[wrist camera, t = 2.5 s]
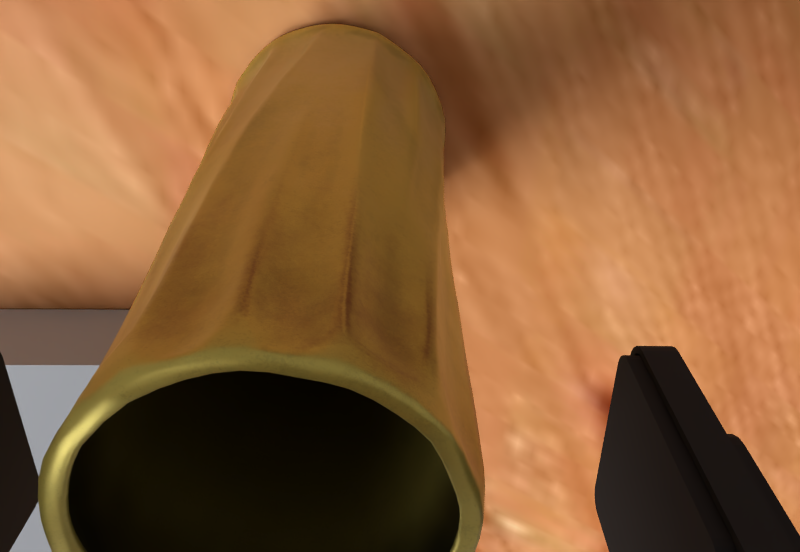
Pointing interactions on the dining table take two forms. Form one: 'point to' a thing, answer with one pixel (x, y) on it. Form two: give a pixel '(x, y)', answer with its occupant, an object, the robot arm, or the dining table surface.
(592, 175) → the dining table surface
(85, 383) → the plinth
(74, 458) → the vase
